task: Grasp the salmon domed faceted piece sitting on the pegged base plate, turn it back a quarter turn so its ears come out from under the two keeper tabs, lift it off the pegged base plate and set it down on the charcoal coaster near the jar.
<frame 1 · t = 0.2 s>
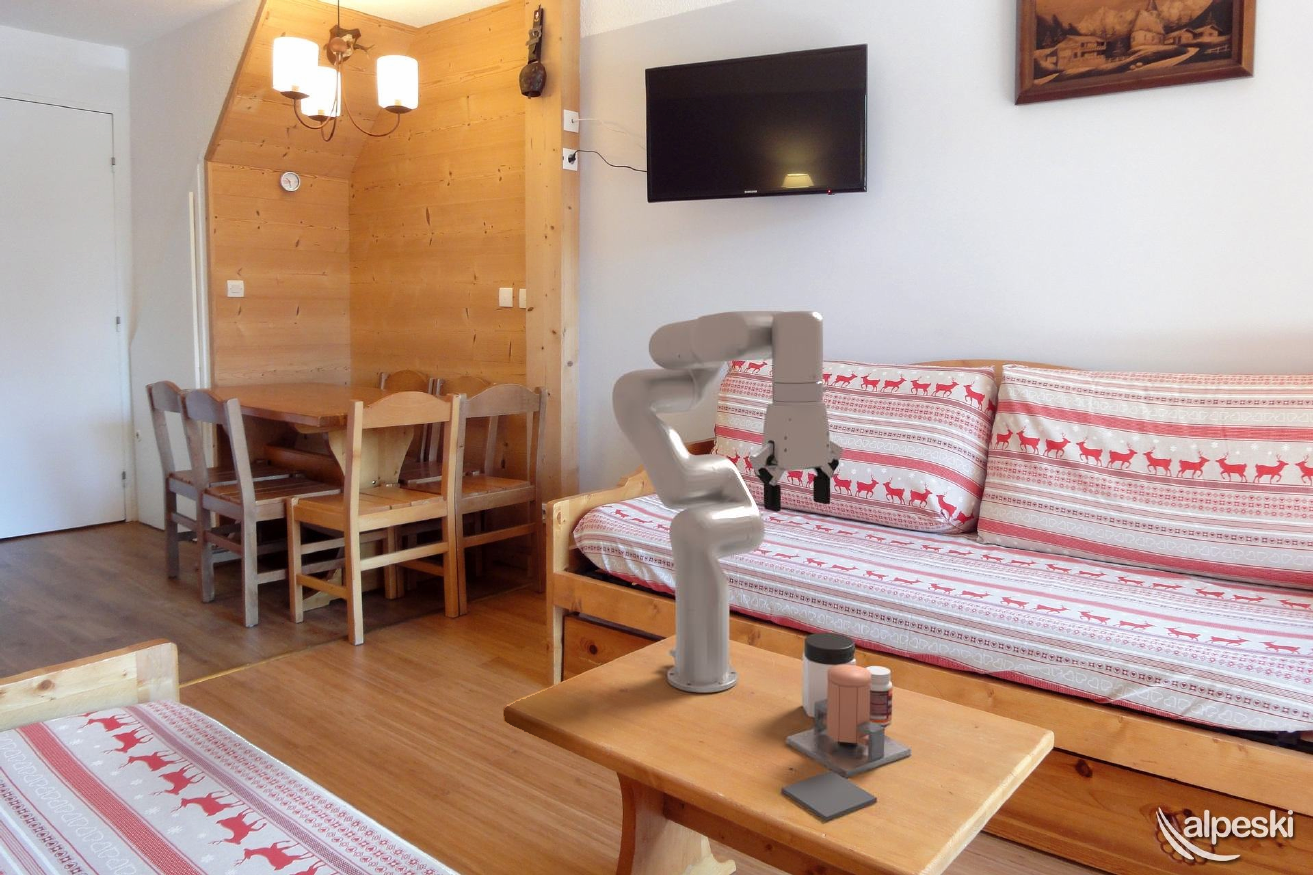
hand: (797, 506, 143), 36 cm above the table, tool pointing down, fingers open, 9 cm apart
jar: (828, 711, 155), on the table
pill bottle: (876, 721, 151), on the table
salmon domed faceted piece: (848, 733, 141), point 2 cm above the table, touching pegged base plate
coaster: (828, 796, 127), on the table
pegged base plate: (847, 748, 141), on the table
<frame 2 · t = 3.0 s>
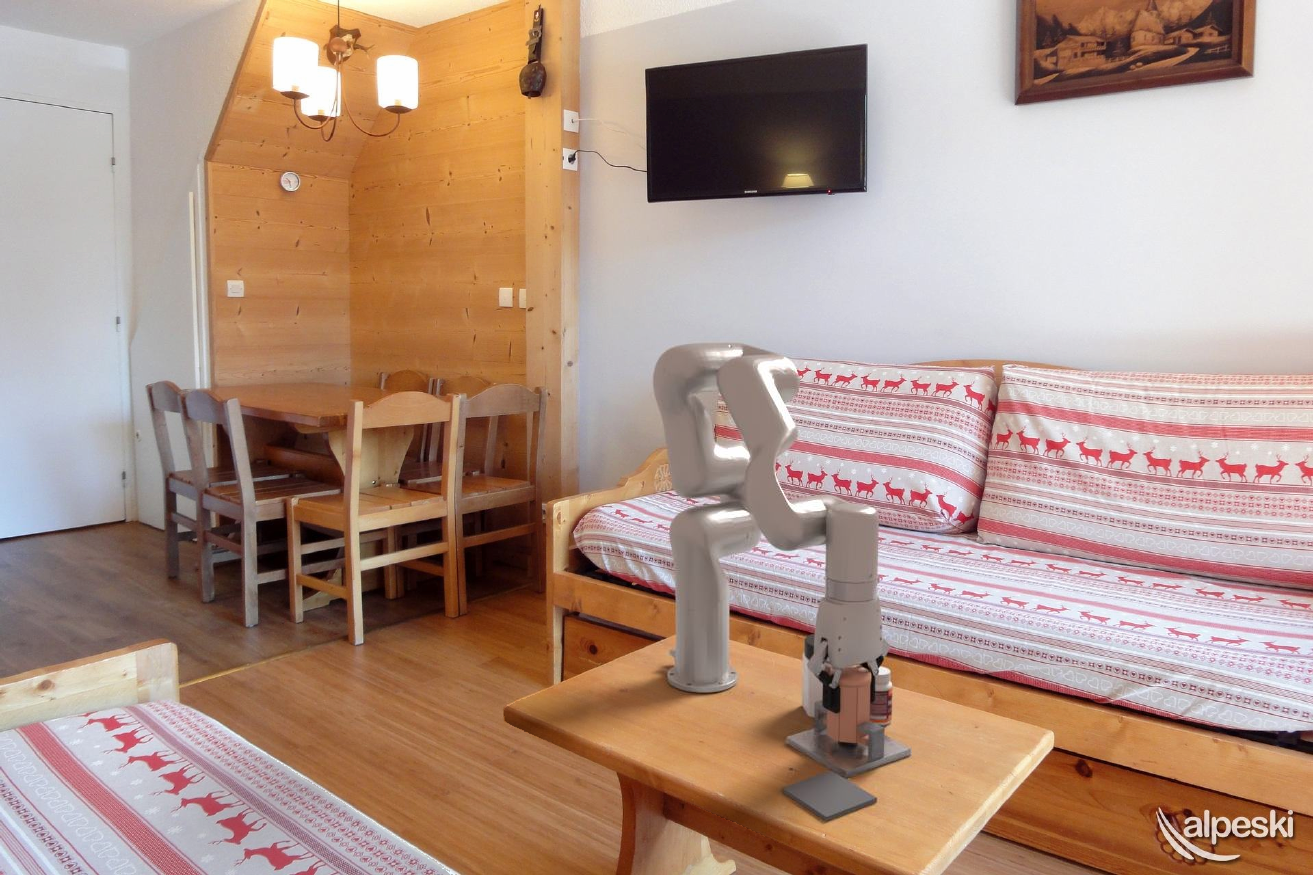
hand: (848, 703, 140), 7 cm above the table, tool pointing down, fingers closed on salmon domed faceted piece, 6 cm apart
salmon domed faceted piece: (848, 733, 141), point 2 cm above the table, touching gripper, pegged base plate
everything else where it was.
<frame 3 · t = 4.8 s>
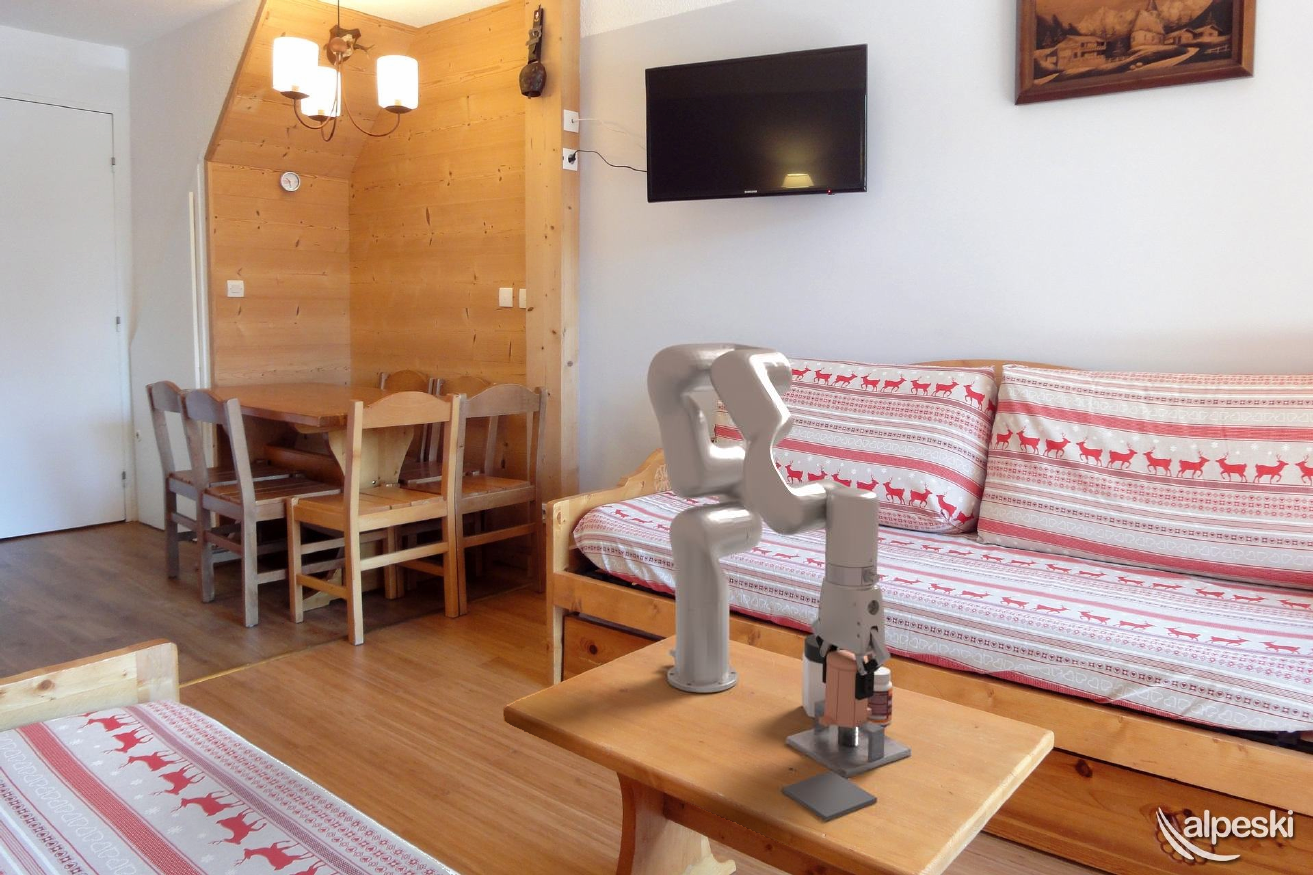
hand: (847, 688, 140), 9 cm above the table, tool pointing down, fingers closed on salmon domed faceted piece, 6 cm apart
salmon domed faceted piece: (845, 718, 141), point 5 cm above the table, touching gripper
everything else where it was.
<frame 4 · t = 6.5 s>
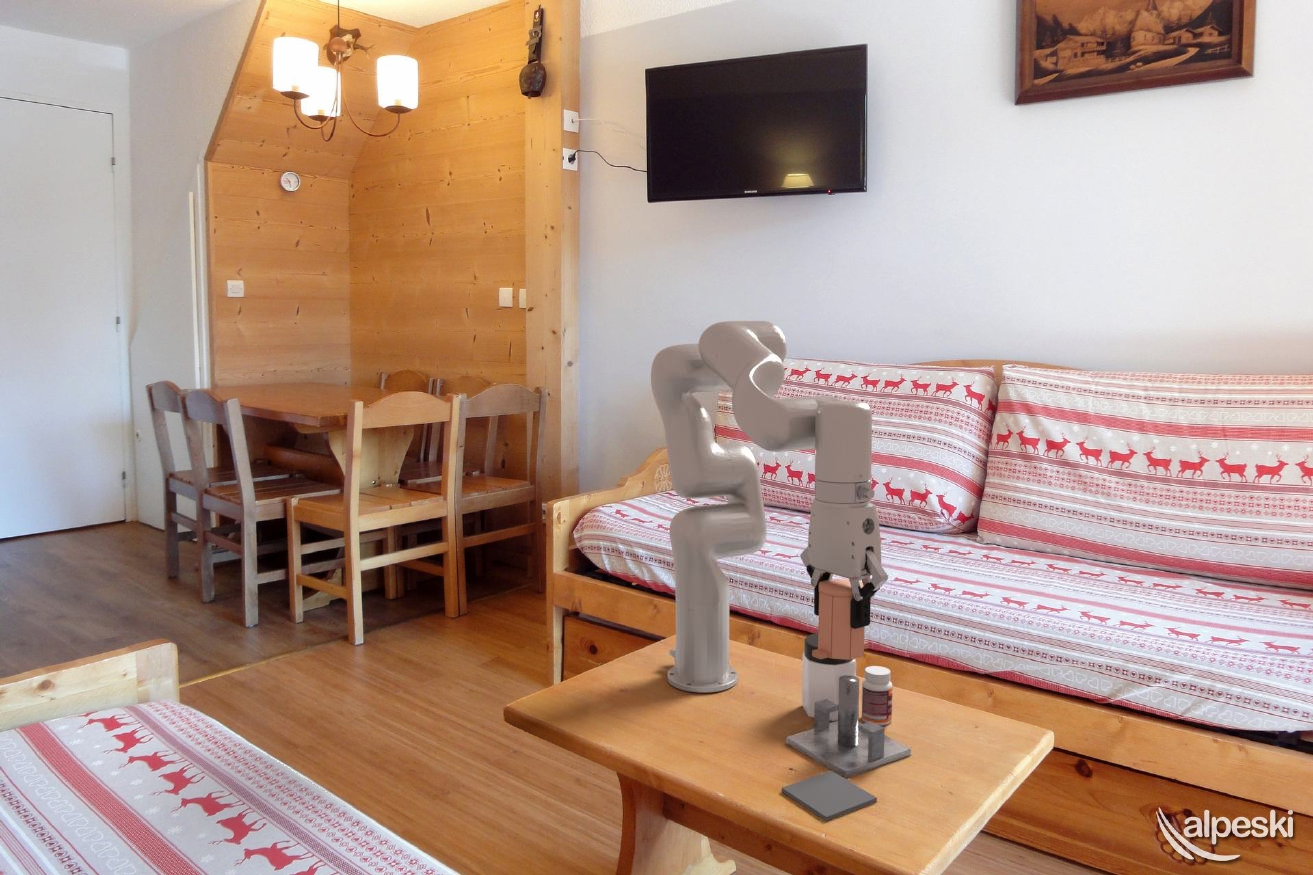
hand: (841, 618, 130), 23 cm above the table, tool pointing down, fingers closed on salmon domed faceted piece, 6 cm apart
salmon domed faceted piece: (840, 651, 130), point 19 cm above the table, touching gripper
everything else where it was.
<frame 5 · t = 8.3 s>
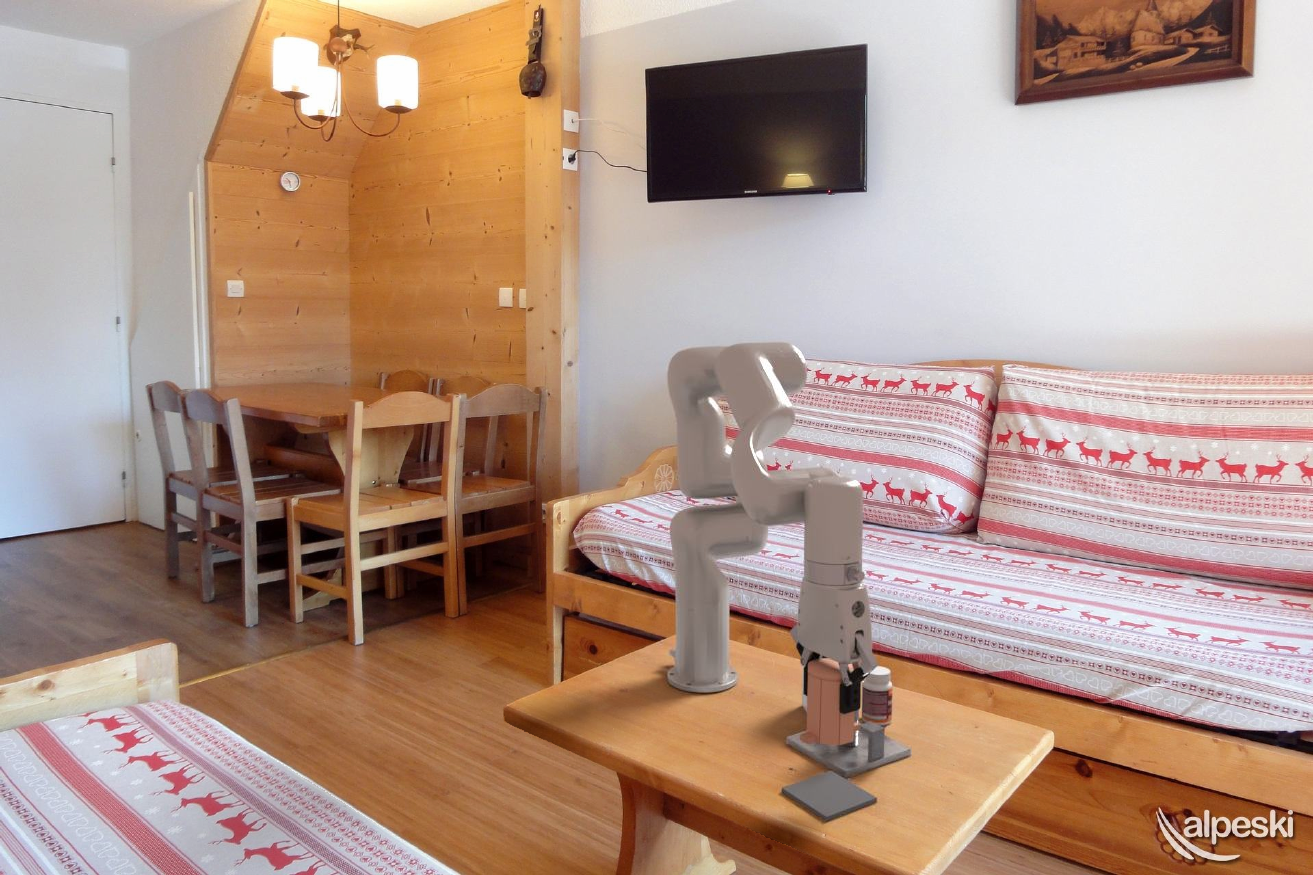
hand: (831, 700, 125), 14 cm above the table, tool pointing down, fingers closed on salmon domed faceted piece, 6 cm apart
salmon domed faceted piece: (830, 734, 126), point 9 cm above the table, touching gripper
everything else where it was.
when the fingers open (7 cm above the table, at t = 9.9 s): salmon domed faceted piece drops 1 cm, resting on coaster.
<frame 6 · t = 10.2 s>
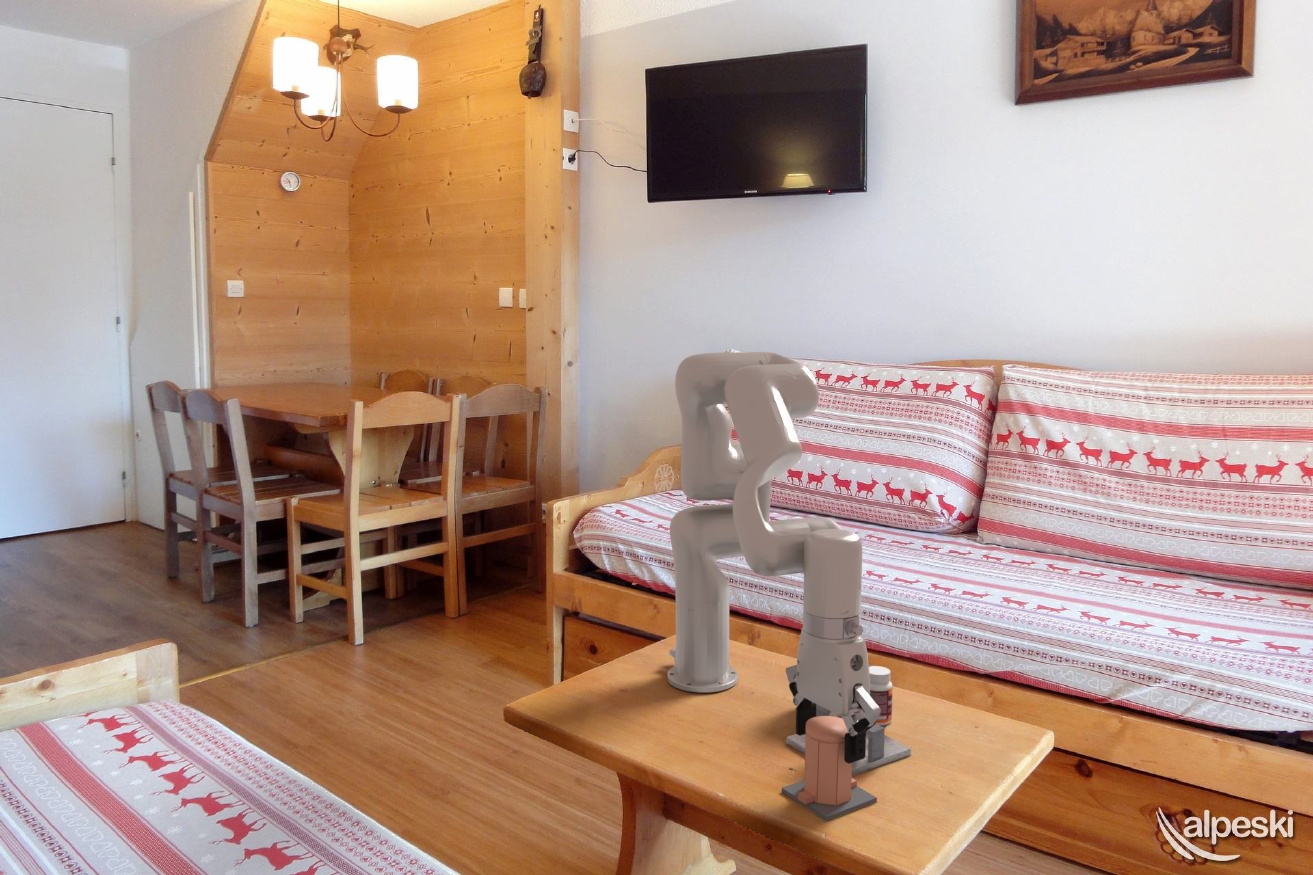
hand: (829, 745, 127), 7 cm above the table, tool pointing down, fingers open, 9 cm apart
salmon domed faceted piece: (827, 792, 127), point 1 cm above the table, touching coaster
everything else where it was.
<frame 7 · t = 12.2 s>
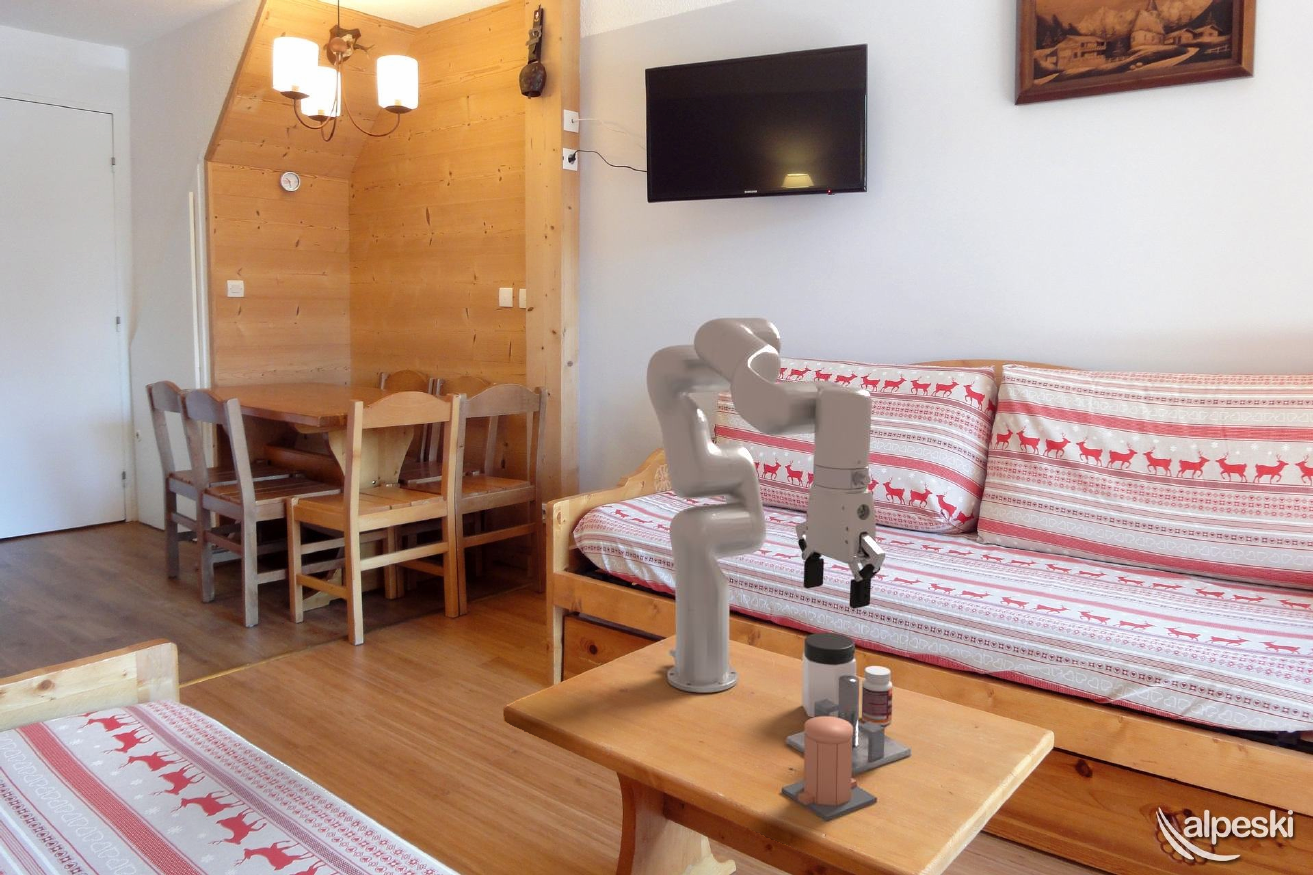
hand: (835, 596, 132), 26 cm above the table, tool pointing down, fingers open, 9 cm apart
nothing on the table moved.
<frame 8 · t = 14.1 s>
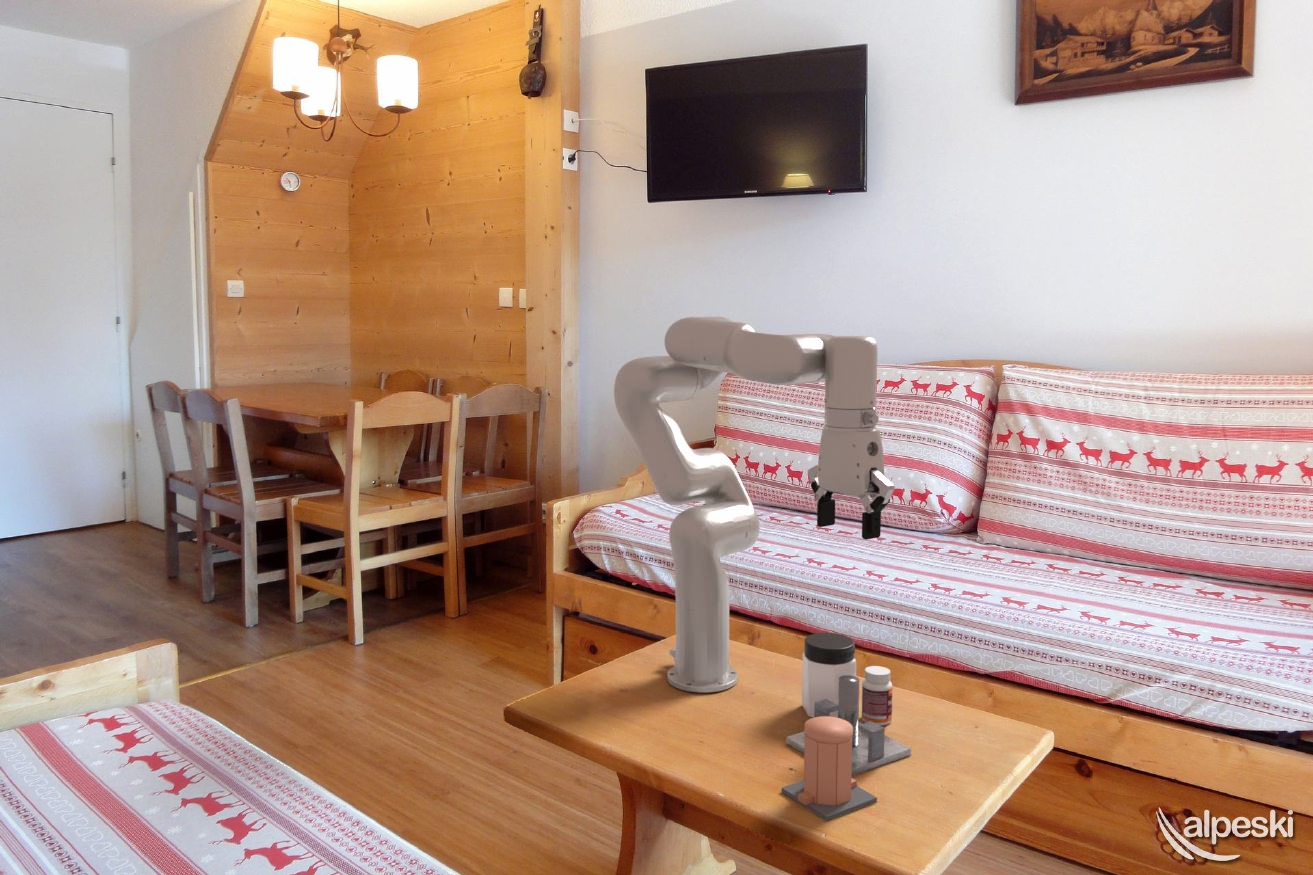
hand: (847, 531, 142), 32 cm above the table, tool pointing down, fingers open, 9 cm apart
nothing on the table moved.
at the end: salmon domed faceted piece 0.2 cm from the coaster (horizontally); salmon domed faceted piece point 0.6 cm above the table; salmon domed faceted piece tilted 0° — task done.
